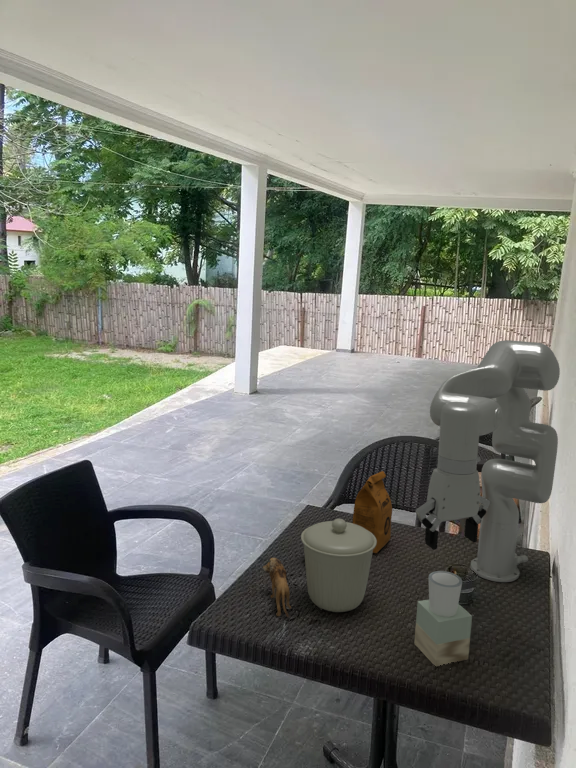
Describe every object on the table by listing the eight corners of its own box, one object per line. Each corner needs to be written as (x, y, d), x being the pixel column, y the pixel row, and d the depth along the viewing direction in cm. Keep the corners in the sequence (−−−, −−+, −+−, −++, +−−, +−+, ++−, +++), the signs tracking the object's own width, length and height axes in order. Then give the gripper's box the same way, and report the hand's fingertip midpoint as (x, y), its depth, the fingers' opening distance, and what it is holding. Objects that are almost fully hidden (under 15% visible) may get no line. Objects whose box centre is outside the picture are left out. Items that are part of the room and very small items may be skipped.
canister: (319, 574, 153) (322, 499, 150) (383, 594, 144) (388, 515, 141) (285, 606, 138) (287, 523, 134) (354, 631, 129) (359, 543, 125)
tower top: (447, 616, 127) (449, 595, 126) (470, 637, 120) (472, 615, 119) (416, 622, 125) (417, 601, 124) (436, 644, 117) (438, 622, 116)
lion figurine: (260, 589, 145) (261, 556, 144) (280, 586, 147) (281, 553, 145) (279, 622, 132) (280, 585, 130) (301, 618, 133) (302, 582, 132)
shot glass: (461, 620, 117) (464, 588, 116) (427, 616, 118) (429, 584, 117) (457, 602, 124) (460, 572, 122) (425, 598, 125) (427, 568, 124)
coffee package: (395, 543, 173) (400, 473, 169) (376, 558, 163) (381, 484, 160) (366, 534, 179) (370, 466, 175) (346, 548, 169) (349, 476, 165)
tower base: (445, 637, 128) (447, 616, 127) (468, 659, 120) (470, 637, 120) (414, 643, 125) (415, 623, 124) (435, 667, 118) (437, 645, 117)
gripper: (480, 454, 122) (473, 529, 125) (409, 462, 116) (404, 541, 119) (504, 465, 115) (497, 544, 118) (431, 475, 109) (425, 558, 112)
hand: (451, 543), depth 119 cm, fingers open, 9 cm apart
